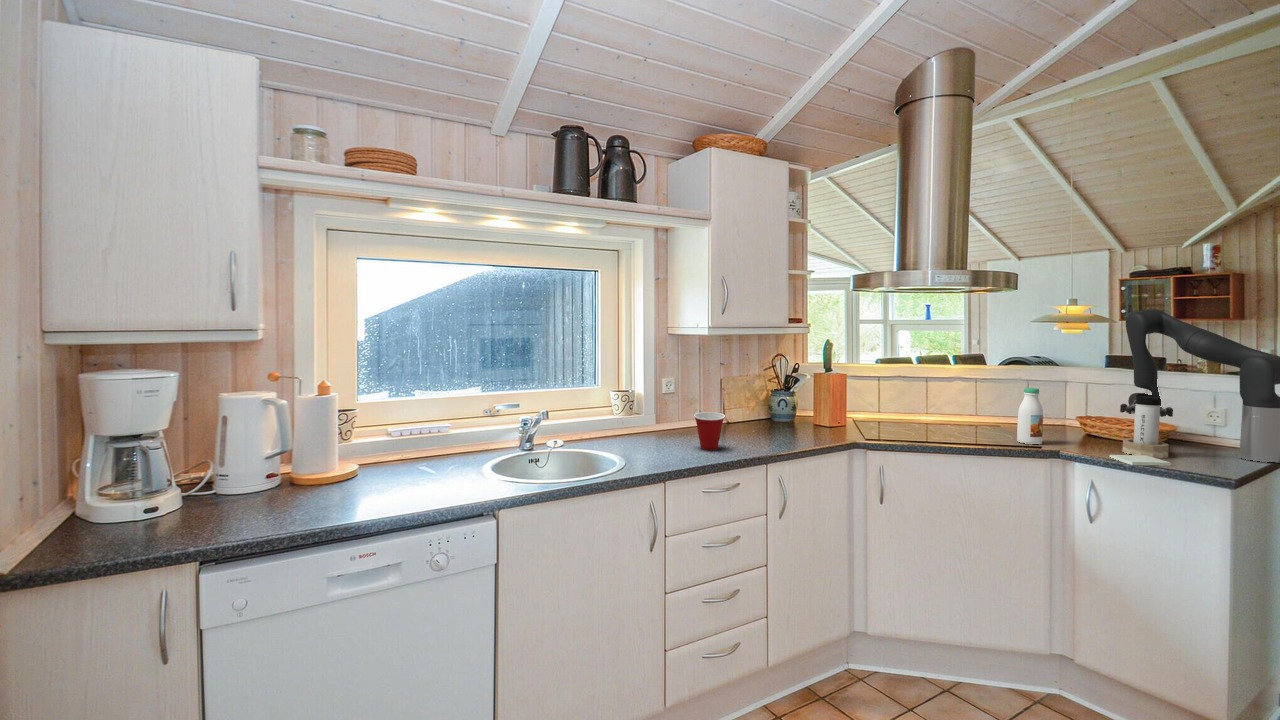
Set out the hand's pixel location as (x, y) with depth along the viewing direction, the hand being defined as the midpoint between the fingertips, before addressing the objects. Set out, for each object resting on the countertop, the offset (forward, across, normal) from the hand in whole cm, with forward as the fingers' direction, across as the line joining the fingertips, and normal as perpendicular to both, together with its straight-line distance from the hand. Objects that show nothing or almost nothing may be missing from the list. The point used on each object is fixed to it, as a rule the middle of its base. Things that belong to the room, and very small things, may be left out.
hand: (1146, 412), depth 208 cm
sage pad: (+27, -1, +12) cm, 30 cm away
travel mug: (+11, 0, +13) cm, 17 cm away
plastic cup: (+98, -115, +13) cm, 152 cm away
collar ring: (+11, 0, +12) cm, 17 cm away
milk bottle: (+14, -32, +13) cm, 37 cm away
